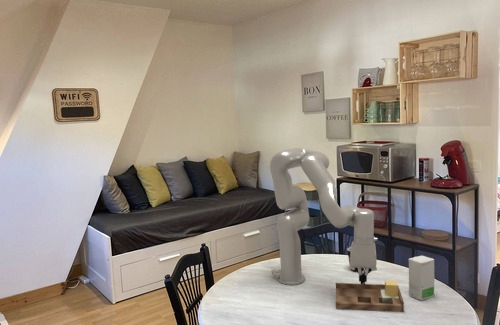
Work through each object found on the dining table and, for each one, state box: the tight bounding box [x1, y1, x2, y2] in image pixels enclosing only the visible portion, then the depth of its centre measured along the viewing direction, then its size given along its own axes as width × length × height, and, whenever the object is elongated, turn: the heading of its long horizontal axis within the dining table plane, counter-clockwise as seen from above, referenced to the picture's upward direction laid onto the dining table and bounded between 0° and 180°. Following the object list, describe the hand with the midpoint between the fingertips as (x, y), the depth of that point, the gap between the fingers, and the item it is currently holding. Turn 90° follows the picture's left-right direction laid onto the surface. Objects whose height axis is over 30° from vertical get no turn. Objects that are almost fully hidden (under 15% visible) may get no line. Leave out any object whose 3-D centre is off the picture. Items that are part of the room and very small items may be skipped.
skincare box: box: [408, 255, 435, 301], centre depth 170 cm, size 8×7×16 cm
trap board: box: [335, 282, 405, 313], centre depth 168 cm, size 25×15×4 cm, turn 78°
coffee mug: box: [347, 246, 365, 273], centre depth 200 cm, size 12×9×10 cm
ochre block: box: [384, 280, 399, 296], centre depth 169 cm, size 4×4×4 cm
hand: (362, 283), depth 171 cm, fingers closed
